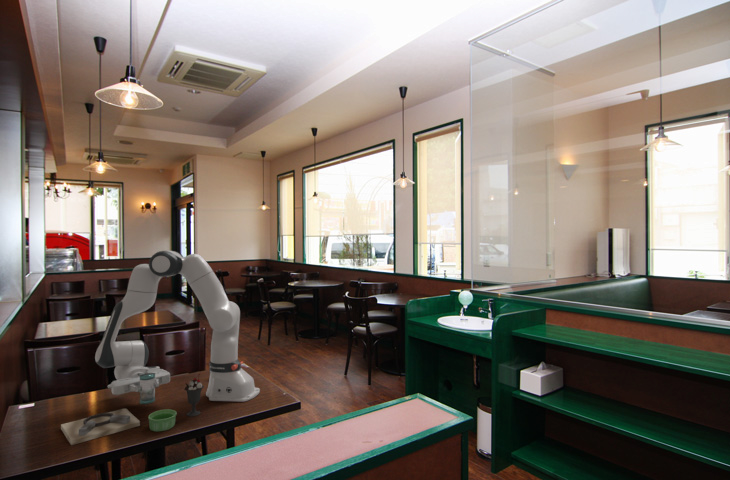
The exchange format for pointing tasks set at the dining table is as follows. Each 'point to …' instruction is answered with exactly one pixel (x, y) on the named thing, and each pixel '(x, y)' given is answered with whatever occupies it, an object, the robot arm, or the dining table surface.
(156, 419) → the ramekin
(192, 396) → the sundae
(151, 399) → the teal-capped glass jar
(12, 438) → the dining table surface
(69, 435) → the board
